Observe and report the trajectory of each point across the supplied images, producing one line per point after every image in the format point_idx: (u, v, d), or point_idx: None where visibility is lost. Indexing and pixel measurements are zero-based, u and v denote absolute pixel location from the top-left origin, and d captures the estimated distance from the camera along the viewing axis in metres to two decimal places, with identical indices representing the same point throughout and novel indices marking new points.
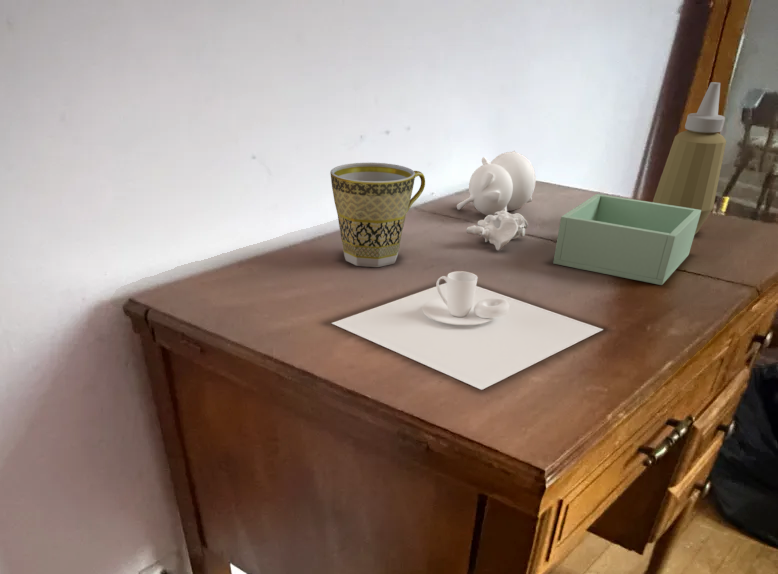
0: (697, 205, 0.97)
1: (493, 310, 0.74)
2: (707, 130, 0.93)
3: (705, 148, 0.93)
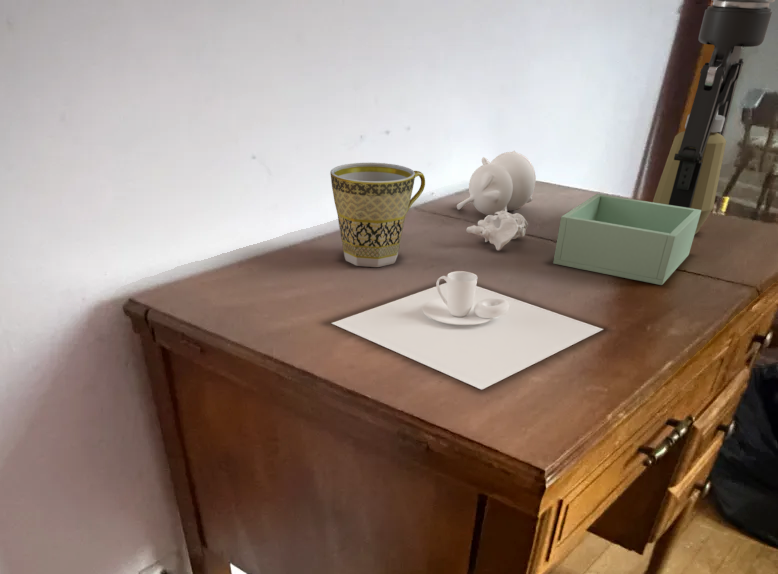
0: (697, 205, 0.97)
1: (493, 310, 0.74)
2: None
3: (705, 148, 0.93)
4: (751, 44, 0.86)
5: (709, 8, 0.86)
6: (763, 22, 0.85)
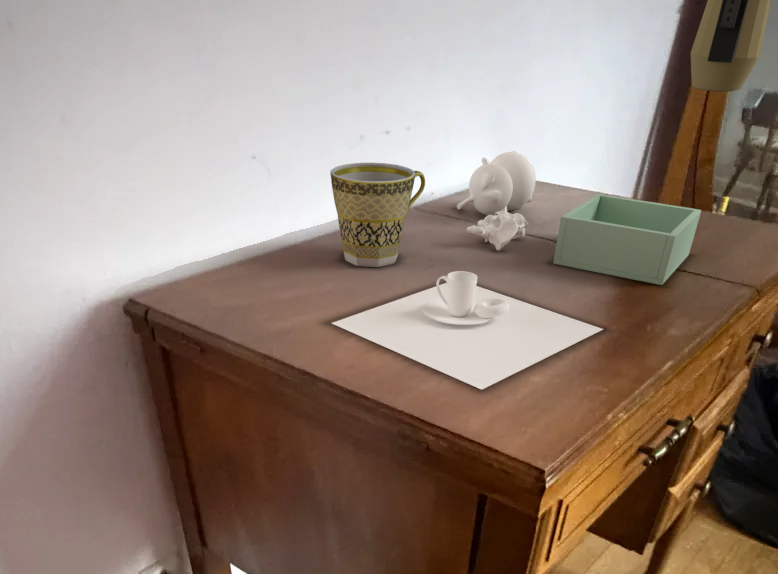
0: (742, 50, 0.86)
1: (493, 310, 0.74)
2: None
3: None
4: None
5: None
6: None
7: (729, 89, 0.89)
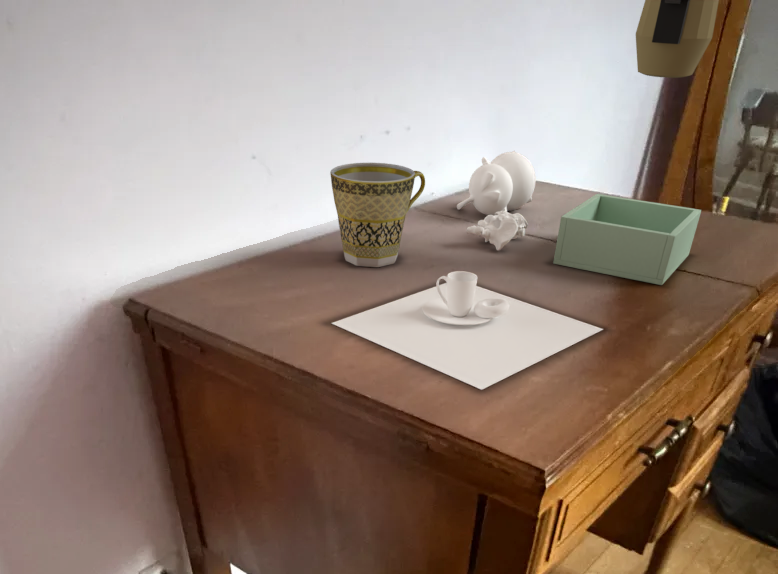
0: (691, 30, 0.75)
1: (493, 310, 0.74)
2: None
3: None
4: None
5: None
6: None
7: (678, 75, 0.78)
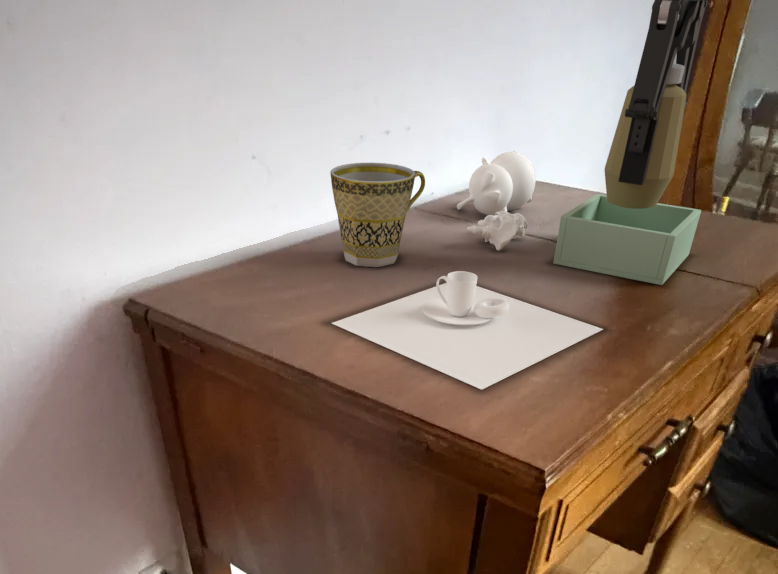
0: (653, 172, 0.83)
1: (493, 310, 0.74)
2: None
3: (661, 103, 0.79)
4: None
5: None
6: None
7: (643, 207, 0.86)
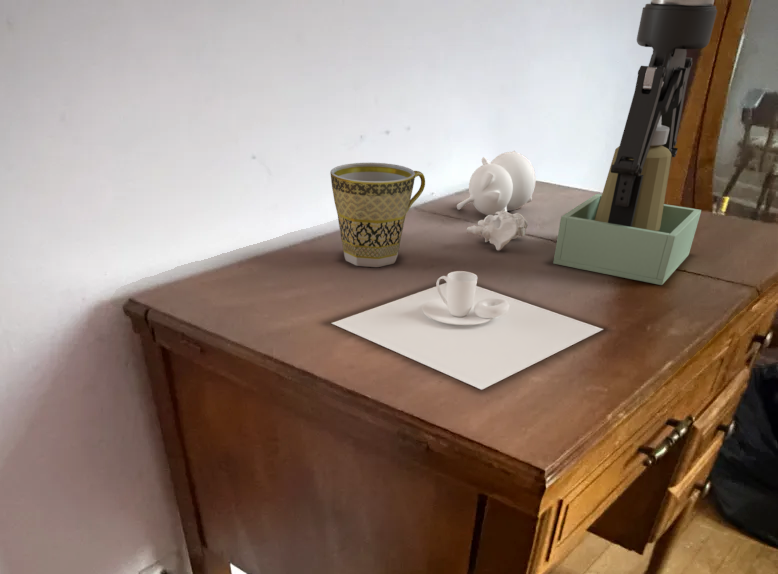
0: (641, 226, 0.86)
1: (493, 310, 0.74)
2: None
3: (647, 163, 0.82)
4: (694, 46, 0.75)
5: (646, 6, 0.76)
6: (707, 21, 0.74)
7: None
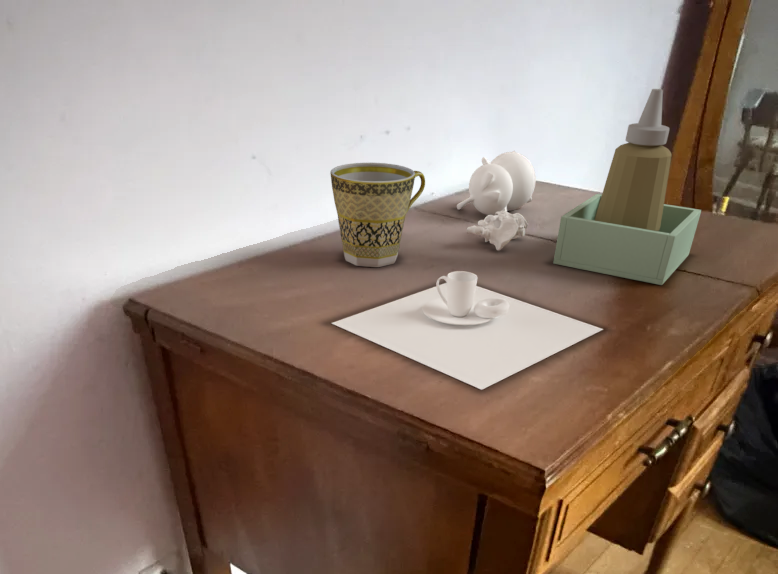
0: (641, 226, 0.86)
1: (493, 310, 0.74)
2: (649, 143, 0.82)
3: (647, 163, 0.82)
4: None
5: None
6: None
7: None
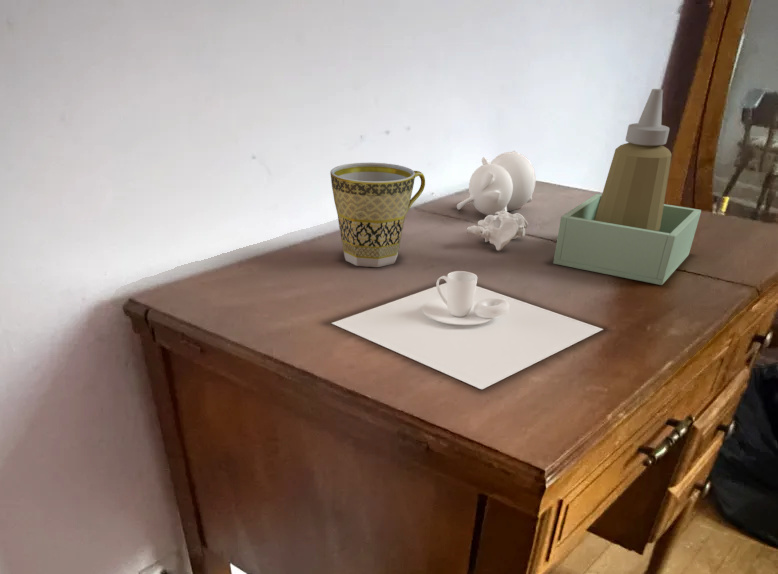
0: (641, 226, 0.86)
1: (493, 310, 0.74)
2: (649, 143, 0.82)
3: (647, 163, 0.82)
4: None
5: None
6: None
7: None
